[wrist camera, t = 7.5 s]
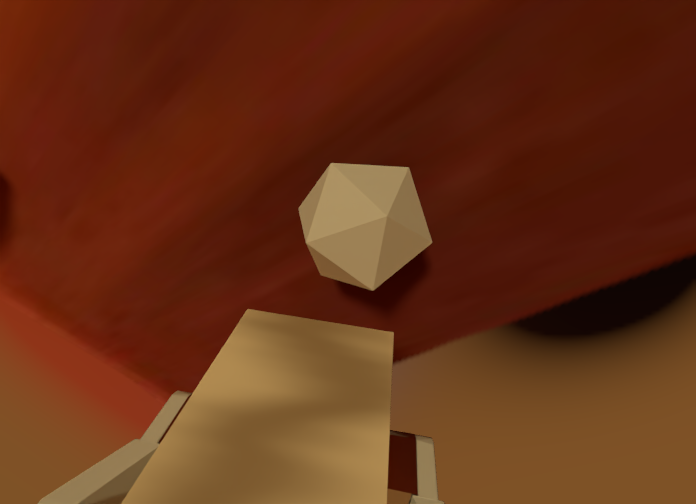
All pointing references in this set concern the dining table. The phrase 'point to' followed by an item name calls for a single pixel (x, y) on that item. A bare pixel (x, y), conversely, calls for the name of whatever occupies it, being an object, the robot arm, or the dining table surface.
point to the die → (363, 223)
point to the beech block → (281, 420)
